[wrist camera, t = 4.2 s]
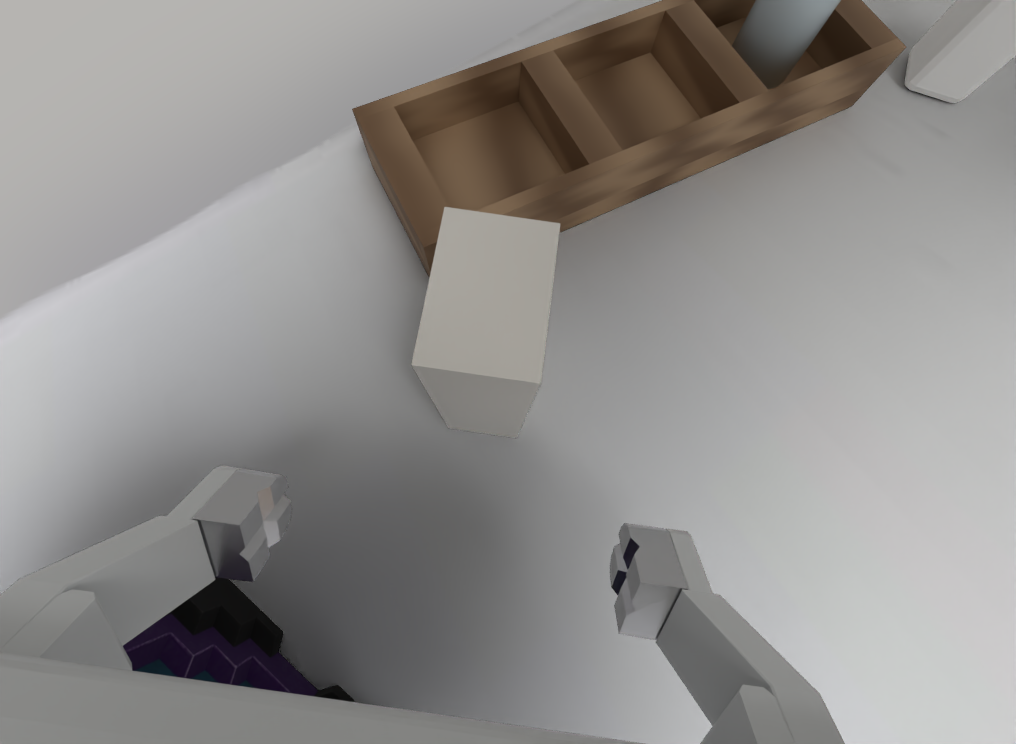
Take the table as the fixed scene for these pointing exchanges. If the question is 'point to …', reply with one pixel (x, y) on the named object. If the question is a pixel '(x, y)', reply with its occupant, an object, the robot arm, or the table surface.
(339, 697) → the energy cube
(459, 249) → the clay block
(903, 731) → the table surface
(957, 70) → the pepper shaker
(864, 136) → the table surface
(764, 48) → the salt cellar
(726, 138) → the rack
